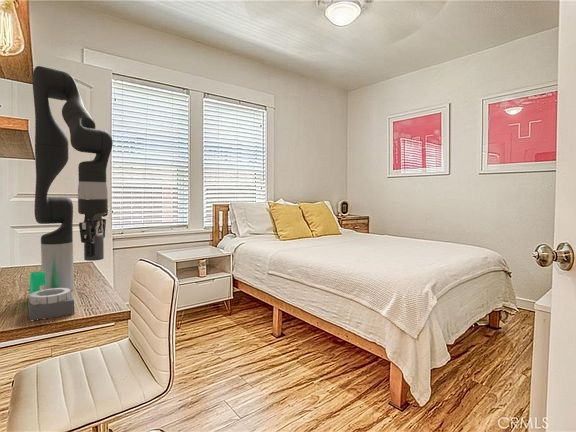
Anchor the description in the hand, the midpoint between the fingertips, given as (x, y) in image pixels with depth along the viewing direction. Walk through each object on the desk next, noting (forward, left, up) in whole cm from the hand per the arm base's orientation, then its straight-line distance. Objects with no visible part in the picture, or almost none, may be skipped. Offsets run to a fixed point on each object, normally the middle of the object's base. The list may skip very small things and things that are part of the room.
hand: (93, 254), depth 99 cm
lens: (0, 0, -1) cm, 1 cm away
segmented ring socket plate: (+2, -11, -16) cm, 20 cm away
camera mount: (-9, -17, -17) cm, 26 cm away
